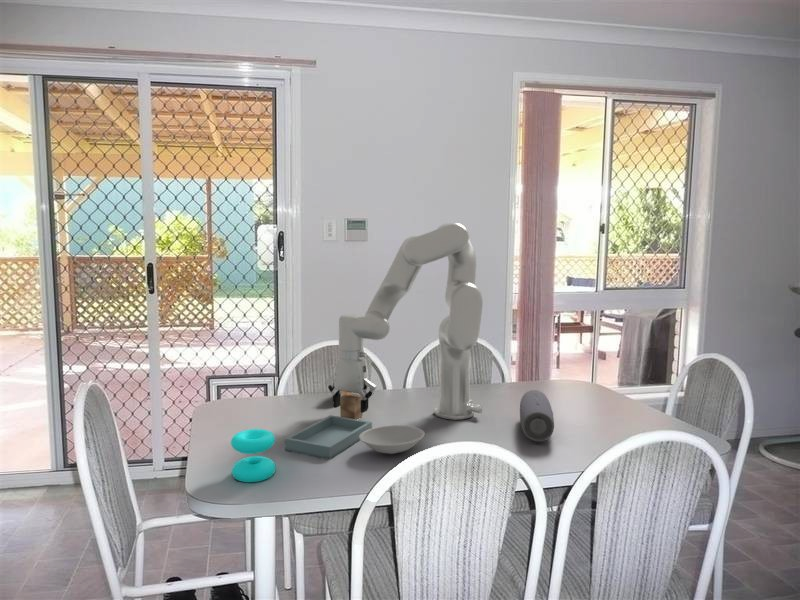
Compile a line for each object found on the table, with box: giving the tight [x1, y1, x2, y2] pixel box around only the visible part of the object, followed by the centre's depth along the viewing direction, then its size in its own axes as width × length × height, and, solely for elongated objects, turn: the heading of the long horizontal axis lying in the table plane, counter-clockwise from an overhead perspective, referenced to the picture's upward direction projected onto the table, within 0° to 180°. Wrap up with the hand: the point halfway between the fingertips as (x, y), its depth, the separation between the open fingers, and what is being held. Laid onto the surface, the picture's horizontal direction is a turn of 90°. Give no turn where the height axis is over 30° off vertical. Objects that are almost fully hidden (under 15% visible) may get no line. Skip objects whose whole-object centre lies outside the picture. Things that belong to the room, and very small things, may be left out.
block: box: [339, 393, 364, 420], centre depth 179 cm, size 5×5×7 cm
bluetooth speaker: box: [519, 389, 555, 442], centre depth 168 cm, size 23×9×10 cm, turn 170°
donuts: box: [230, 428, 276, 483], centre depth 137 cm, size 10×10×10 cm
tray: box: [284, 414, 373, 460], centre depth 160 cm, size 14×22×3 cm, turn 154°
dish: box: [359, 424, 426, 455], centre depth 151 cm, size 18×14×5 cm
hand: (350, 409), depth 180 cm, fingers open, 9 cm apart
